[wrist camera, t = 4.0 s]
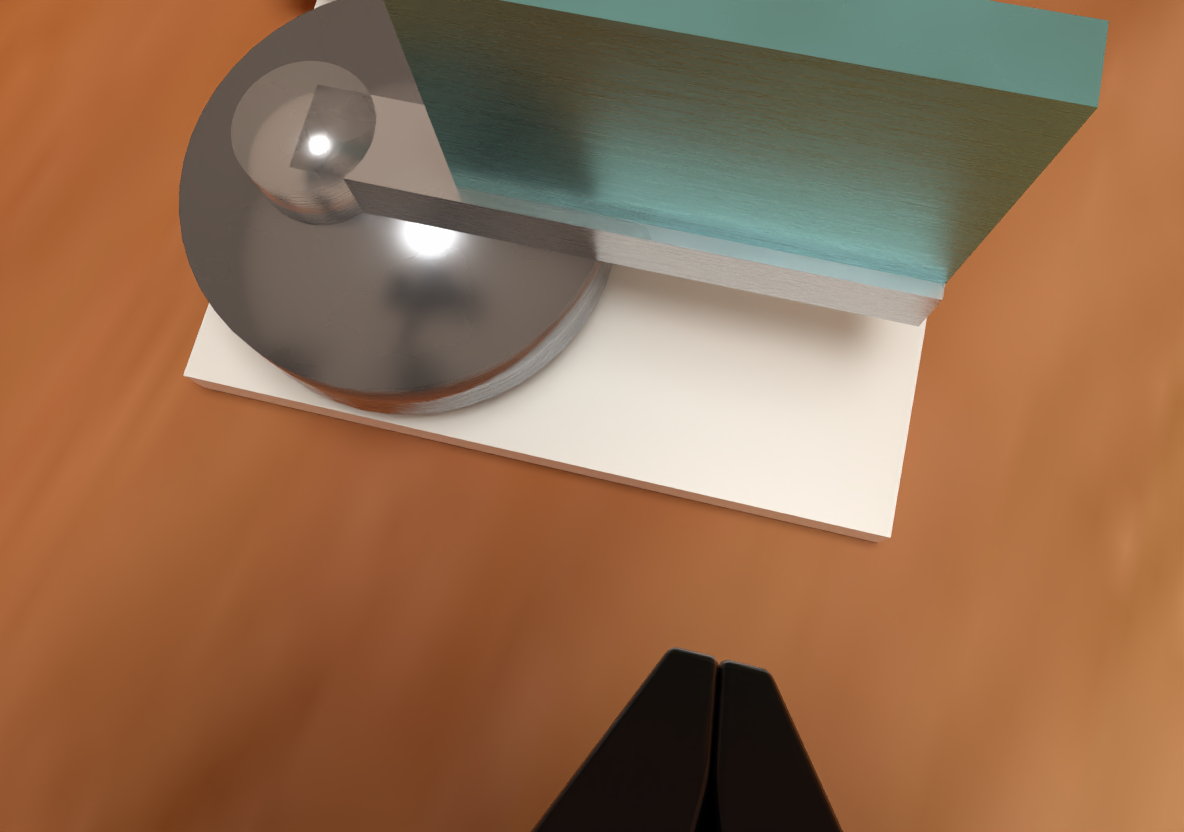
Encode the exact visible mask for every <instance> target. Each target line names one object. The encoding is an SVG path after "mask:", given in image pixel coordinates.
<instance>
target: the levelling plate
mask: <svg viewBox="0 0 1184 832" xmlns="http://www.w3.org/2000/svg"><path fill="white" fill-rule="evenodd" d="M333 1H335V0H317V2H316V4H315V7H314V9H315V8H317V7H319V6H321V5H324V4H327V3H330V2H333ZM926 320H927V318H926V319H925V320H924V321H923V322H922V323H921V324H920V326H919V327H918V326H913V325H908V324H904V323H899V322H894V321H889V320H884V319H879V318H874V317H870V316H865V315H860V314H855V313H850V312H845V311H841V310H836V309H831V308H826V307H821V306H816V305H811V304H807V303H802V302H797V301H792V300H787V299H782V298H778V297H773V296H768V295H763V294H758V293H753V292H748V291H744V290H739V289H734V288H729V287H724V286H719V285H715V284H710V283H705V282H700V281H695V280H690V279H685V278H681V277H676V276H671V275H666V274H661V273H656V272H651V271H647V270H642V269H637V268H632V267H627V266H622V265H618V264H613V265H612V268H611V271H610V274H609V277H608V280H607V283H606V286H605V288H604V290H603V292H602V294H601V296H600V298H599V300H598V302H597V304H596V306H595V308H594V310H593V311H592V313H591V314H590V316H589V317H588V319H587V320H586V322H585V323H584V325H583V326H582V328H581V330H580V331H579V332H578V333H577V334H576V335H575V337H574V338H573V339H572V340H571V341H570V342H569V343H568V345H567V346H566V347H565V348H564V349H563V350H562V351H561V352H560V353H559V354H558V355H557V356H555V357H554V358H553V359H552V360H551V361H550V362H549V363H548V364H546V365H545V366H544V367H543V368H542V369H540V370H539V371H537V372H536V373H535V374H533V375H532V376H530V377H529V378H527V379H526V380H524V381H523V382H521V383H520V384H518V385H516V386H514V387H512V388H510V389H508V390H506V391H504V392H503V393H501V394H499V395H497V396H495V397H492V398H489V399H486V400H484V401H481V402H478V403H475V404H473V405H470V406H466V407H462V408H457V409H453V410H449V411H444V412H437V413H427V414H417V415H406V414H385V413H378V412H372V411H366V410H360V409H357V408H353V407H350V406H347V405H343V404H340V403H337V402H334V401H332V400H330V399H328V398H325V397H323V396H321V395H319V394H317V393H314V392H312V391H310V390H309V389H307V388H306V387H304V386H303V385H301V384H299V383H298V382H296V381H295V380H293V379H292V378H290V377H289V376H287V375H286V374H285V373H284V372H282V371H281V370H280V369H278V368H277V367H276V366H275V365H273V364H272V363H271V362H269V361H268V360H267V359H265V358H264V357H263V356H262V355H260V354H259V353H258V352H256V351H255V350H254V349H253V348H251V347H250V346H249V345H248V344H247V343H246V342H244V341H243V340H242V339H241V338H240V337H239V336H237V335H236V334H235V333H234V332H233V331H232V330H231V329H230V328H229V327H228V326H227V325H226V323H225V322H224V321H223V320H222V319H221V318H220V316H219V315H218V314H217V313H216V312H215V311H214V309H213V308H212V306H211V305H210V303H209V305H208V308H207V310H206V313H205V316H204V319H203V322H202V324H201V327H200V330H199V333H198V336H197V339H196V341H195V344H194V347H193V350H192V353H191V355H190V358H189V361H188V364H187V367H186V369H185V372H184V375H183V376H185V377H187V378H188V379H190V380H192V381H193V382H195V383H197V384H198V385H200V386H202V387H204V388H208V389H212V390H217V391H221V392H225V393H230V394H234V395H239V396H243V397H247V398H252V399H256V400H260V401H265V402H269V403H273V404H278V405H282V406H286V407H291V408H295V409H299V410H304V411H308V412H312V413H317V414H321V415H325V416H330V417H334V418H338V419H343V420H347V421H351V422H356V423H360V424H364V425H369V426H373V427H377V428H382V429H386V430H390V431H395V432H399V433H404V434H408V435H412V436H417V437H421V438H425V439H430V440H434V441H438V442H443V443H447V444H451V445H456V446H460V447H464V448H469V449H473V450H477V451H482V452H486V453H490V454H495V455H499V456H503V457H508V458H512V459H516V460H521V461H525V462H529V463H534V464H538V465H542V466H547V467H551V468H556V469H560V470H564V471H569V472H573V473H577V474H582V475H586V476H590V477H595V478H599V479H603V480H608V481H612V482H616V483H621V484H625V485H629V486H634V487H638V488H642V489H647V490H651V491H655V492H660V493H664V494H668V495H673V496H677V497H681V498H686V499H690V500H694V501H699V502H703V503H707V504H712V505H716V506H721V507H725V508H729V509H734V510H738V511H742V512H747V513H751V514H755V515H760V516H764V517H768V518H773V519H777V520H781V521H786V522H790V523H794V524H799V525H803V526H807V527H812V528H816V529H820V530H825V531H829V532H833V533H838V534H842V535H846V536H851V537H855V538H859V539H864V540H868V541H872V542H877V543H879V542H881V541H884V540H886V539H889V538H890V537H891V531H892V525H893V519H894V513H895V507H896V501H897V495H898V489H899V483H900V477H901V471H902V465H903V459H904V453H905V447H906V441H907V435H908V429H909V423H910V417H911V411H912V405H913V399H914V393H915V386H916V380H917V374H918V368H919V362H920V356H921V350H922V344H923V338H924V332H925V326H926Z"/></svg>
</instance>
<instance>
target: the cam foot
mask: <svg viewBox="0 0 1184 832" xmlns="http://www.w3.org/2000/svg"><path fill="white" fill-rule="evenodd" d="M1108 23H1109V21H1107V20H1101V19H1095V18H1089V17H1083V16H1077V15H1071V14H1065V13H1060V12H1054V11H1048V10H1042V9H1036V8H1030V7H1024V6H1018V5H1013V4H1007V3H1001V2H995V1H989V0H335V1H333V2H330V3H327V4H324V5H321V6H319V7H317V8H315V9H313V10H311V11H309V12H306V13H304V14H302V15H300V16H298V17H296V18H295V19H293V20H291V21H290V22H288V23H287V24H285V25H283V26H282V27H280V28H278V29H277V30H275V31H274V32H272V33H271V34H270V35H269V36H267V37H266V38H265V39H264V40H262V41H261V42H260V43H258V44H257V45H256V46H255V47H253V48H252V49H251V50H250V51H249V52H248V53H247V54H246V55H245V56H244V57H243V58H242V59H241V60H240V61H239V62H238V63H237V64H236V65H235V66H234V67H233V68H232V69H231V71H230V72H229V73H228V74H227V76H226V77H225V78H224V79H223V81H222V82H221V83H220V84H219V86H218V87H217V88H216V90H215V91H214V93H213V95H212V96H211V98H210V100H209V101H208V103H207V105H206V106H205V108H204V109H203V111H202V113H201V115H200V118H199V120H198V122H197V124H196V126H195V129H194V131H193V133H192V135H191V138H190V142H189V145H188V148H187V152H186V155H185V158H184V162H183V169H182V175H181V181H180V191H179V216H180V224H181V232H182V239H183V243H184V247H185V250H186V254H187V258H188V261H189V264H190V267H191V269H192V271H193V273H194V276H195V278H196V280H197V282H198V285H199V287H200V289H201V290H202V292H203V294H204V295H205V297H206V298H207V300H208V301H209V303H210V305H211V306H212V308H213V309H214V311H215V312H216V313H217V314H218V315H219V316H220V318H221V319H222V320H223V321H224V322H225V323H226V325H227V326H228V327H229V328H230V329H231V330H232V331H233V332H234V333H235V334H236V335H237V336H239V337H240V338H241V339H242V340H243V341H244V342H246V343H247V344H248V345H249V346H250V347H251V348H253V349H254V350H255V351H256V352H258V353H259V354H260V355H262V356H263V357H264V358H265V359H267V360H268V361H269V362H271V363H272V364H273V365H275V366H276V367H277V368H278V369H280V370H281V371H282V372H284V373H285V374H286V375H287V376H289V377H290V378H292V379H293V380H295V381H296V382H298V383H299V384H301V385H303V386H304V387H306V388H307V389H309V390H310V391H312V392H314V393H317V394H319V395H321V396H323V397H325V398H328V399H330V400H332V401H334V402H337V403H340V404H343V405H347V406H350V407H353V408H357V409H360V410H366V411H372V412H378V413H385V414H406V415H417V414H427V413H437V412H444V411H449V410H453V409H457V408H462V407H466V406H470V405H473V404H475V403H478V402H481V401H484V400H486V399H489V398H492V397H495V396H497V395H499V394H501V393H503V392H504V391H506V390H508V389H510V388H512V387H514V386H516V385H518V384H520V383H521V382H523V381H524V380H526V379H527V378H529V377H530V376H532V375H533V374H535V373H536V372H537V371H539V370H540V369H542V368H543V367H544V366H545V365H546V364H548V363H549V362H550V361H551V360H552V359H553V358H554V357H555V356H557V355H558V354H559V353H560V352H561V351H562V350H563V349H564V348H565V347H566V346H567V345H568V343H569V342H570V341H571V340H572V339H573V338H574V337H575V335H576V334H577V333H578V332H579V331H580V330H581V328H582V326H583V325H584V323H585V322H586V320H587V319H588V317H589V316H590V314H591V313H592V311H593V310H594V308H595V306H596V304H597V302H598V300H599V298H600V296H601V294H602V292H603V290H604V288H605V286H606V283H607V280H608V277H609V274H610V271H611V268H612V265H613V264H618V265H622V266H627V267H632V268H637V269H642V270H647V271H651V272H656V273H661V274H666V275H671V276H676V277H681V278H685V279H690V280H695V281H700V282H705V283H710V284H715V285H719V286H724V287H729V288H734V289H739V290H744V291H748V292H753V293H758V294H763V295H768V296H773V297H778V298H782V299H787V300H792V301H797V302H802V303H807V304H811V305H816V306H821V307H826V308H831V309H836V310H841V311H845V312H850V313H855V314H860V315H865V316H870V317H874V318H879V319H884V320H889V321H894V322H899V323H904V324H908V325H913V326H918V327H919V326H920V324H921V323H922V322H923V321H924V320H925V319H926V318H927V317H928V316H929V314H930V313H931V312H932V311H933V310H934V309H935V308H936V307H937V305H938V304H939V303H940V302H941V301H942V300H943V294H944V288H945V284H946V283H947V281H948V280H949V279H950V278H951V277H952V276H953V274H954V273H955V272H956V271H957V270H958V269H959V267H960V266H961V265H962V264H963V263H964V262H965V261H966V259H967V258H968V257H969V256H970V255H971V254H972V252H973V251H974V250H975V249H976V248H977V247H978V245H979V244H980V243H981V242H982V241H983V240H984V239H985V237H986V236H987V235H988V234H989V233H990V232H991V230H992V229H993V228H994V227H995V226H996V225H997V223H998V222H999V221H1000V220H1001V219H1002V218H1003V217H1004V215H1005V214H1006V213H1007V212H1008V211H1009V210H1010V208H1011V207H1012V206H1013V205H1014V204H1015V203H1016V201H1017V200H1018V199H1019V198H1020V197H1021V196H1022V195H1023V193H1024V192H1025V191H1026V190H1027V189H1028V188H1029V186H1030V185H1031V184H1032V183H1033V182H1034V181H1035V179H1036V178H1037V177H1038V176H1039V175H1040V174H1041V173H1042V171H1043V170H1044V169H1045V168H1046V167H1047V166H1048V164H1049V163H1050V162H1051V161H1052V160H1053V159H1054V157H1055V156H1056V155H1057V154H1058V153H1059V152H1060V151H1061V149H1062V148H1063V147H1064V146H1065V145H1066V144H1067V142H1068V141H1069V140H1070V139H1071V138H1072V137H1073V135H1074V134H1075V133H1076V132H1077V131H1078V130H1079V129H1080V127H1081V126H1082V125H1083V124H1084V123H1085V122H1086V120H1087V119H1088V118H1089V117H1090V116H1091V115H1092V113H1093V112H1094V111H1095V110H1096V109H1097V108H1098V101H1099V94H1100V86H1101V78H1102V70H1103V62H1104V54H1105V47H1106V39H1107V31H1108Z"/></svg>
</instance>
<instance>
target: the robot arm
mask: <svg viewBox="0 0 1184 832" xmlns="http://www.w3.org/2000/svg"><path fill="white" fill-rule="evenodd" d="M531 832H843V831H842V829H841V826H840V824H839V822H838V820H837V818H836V815H835V813H834V811H833V809H832V806H831V804H830V802H829V800H828V798H827V795H826V793H825V791H824V789H823V787H822V784H821V782H820V780H819V778H818V775H817V773H816V771H815V769H814V767H813V764H812V762H811V760H810V758H809V756H808V753H807V751H806V749H805V747H804V745H803V742H802V740H801V738H800V736H799V733H798V731H797V729H796V727H795V725H794V722H793V720H792V718H791V716H790V714H789V711H788V709H787V707H786V705H785V703H784V700H783V698H782V696H781V694H780V691H779V689H778V687H777V685H776V683H775V681H774V678H773V677H772V675H771V674H770V673H769V672H768V671H767V670H766V669H763V668H760V667H755V666H751V665H747V664H743V663H739V662H735V661H731V660H725V661H722V662H721V663H720V664H719V665H718V662H717V660H716V659H715V658H714V657H713V656H711V655H707V654H702V653H698V652H694V651H690V650H686V649H682V648H677V647H674V648H671V649H669V650H668V651H667V652H666V653H665V654H664V656H663V657H662V658H661V660H660V661H659V662H658V664H657V665H656V666H655V668H654V669H653V670H652V672H651V673H650V674H649V676H648V677H647V678H646V679H645V681H644V682H643V683H642V685H641V686H640V687H639V689H638V690H637V691H636V693H635V694H634V695H633V697H632V698H631V699H630V701H629V702H628V703H627V705H626V706H625V707H624V709H623V710H622V711H621V713H620V714H619V715H618V717H617V718H616V719H615V721H614V722H613V723H612V725H611V726H610V727H609V729H608V730H607V731H606V733H605V734H604V735H603V737H602V738H601V739H600V740H599V742H598V743H597V744H596V746H595V747H594V748H593V750H592V751H591V752H590V754H589V755H588V756H587V758H586V759H585V760H584V762H583V763H582V764H581V766H580V767H579V768H578V770H577V771H576V772H575V774H574V775H573V776H572V778H571V779H570V780H569V782H568V783H567V784H566V786H565V787H564V788H563V790H562V791H561V792H560V794H559V795H558V796H557V798H556V799H555V800H554V802H553V803H552V804H551V805H550V807H549V808H548V809H547V811H546V812H545V813H544V815H543V816H542V817H541V819H540V820H539V821H538V823H537V824H536V825H535V827H534V828H533V829H532V831H531Z"/></svg>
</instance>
